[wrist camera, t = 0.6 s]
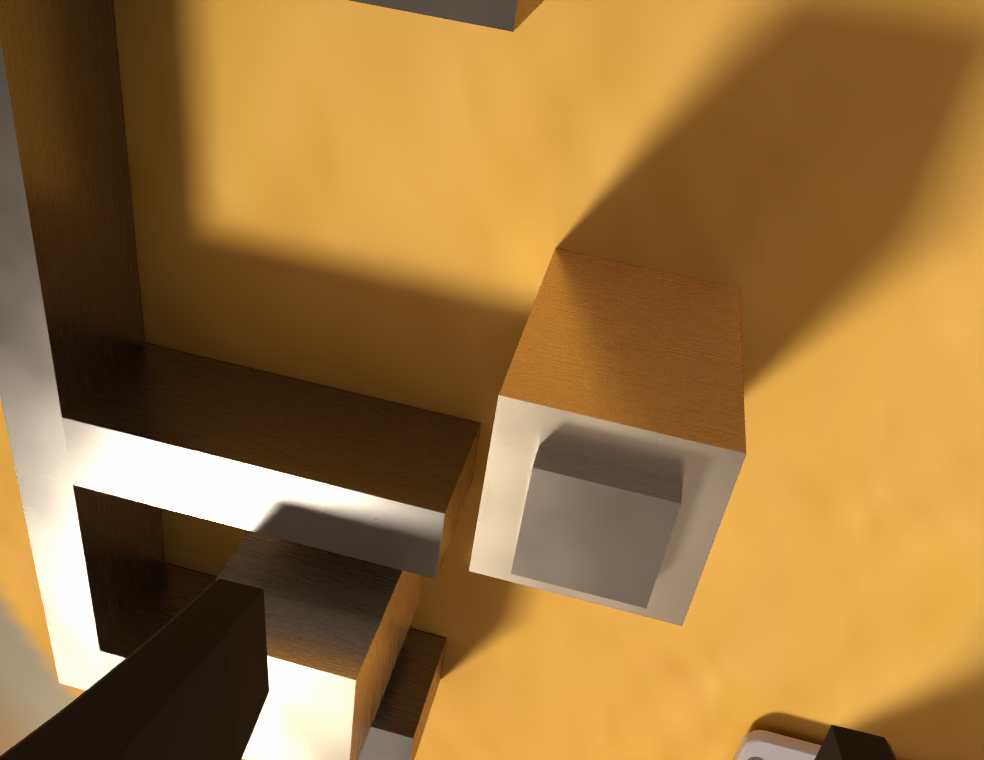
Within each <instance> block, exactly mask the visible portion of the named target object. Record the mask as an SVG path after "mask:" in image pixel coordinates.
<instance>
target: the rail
mask: <svg viewBox="0 0 984 760" xmlns="http://www.w3.org/2000/svg"><path fill="white" fill-rule="evenodd" d="M350 1H355V2H361V3H366V4H371V5H376V6H382V7H387V8H392V9H397V10H403V11H408V12H413V13H418V14H423V15H429V16H434V17H439V18H444V19H450V20H455V21H460V22H465V23H471V24H476V25H481V26H486V27H491V28H497V29H502V30H507V31H512V32H513V31H514V30H515V29H516V28H517V27H518V26H519V25H520V24H521V23H522V22H523V21H524V20H525V19H526V18H527V17H528V16H529V15H530V14H531V13H532V12H533V11H534V10H535V9H536V8H537V7H538V6H539V5H540V4H541V3H542V2H543V1H544V0H350ZM0 398H1V402H2V407H3V412H4V417H5V422H6V427H7V432H8V437H9V441H10V446H11V451H12V456H13V461H14V466H15V471H16V475H17V480H18V485H19V490H20V495H21V500H22V505H23V509H24V514H25V519H26V524H27V529H28V534H29V539H30V543H31V548H32V553H33V558H34V563H35V568H36V573H37V577H38V582H39V587H40V592H41V597H42V602H43V607H44V612H45V616H46V621H47V626H48V631H49V636H50V641H51V646H52V650H53V655H54V660H55V665H56V670H57V675H58V680H59V683H61V684H65V685H68V686H72V687H75V688H79V689H82V690H87V689H89V688H90V687H91V686H92V685H94V684H95V683H96V682H97V681H98V680H100V679H101V678H102V677H103V676H105V675H106V674H107V673H108V672H109V671H111V670H112V669H113V668H114V667H116V666H117V665H118V664H119V663H121V662H122V661H123V660H124V659H125V658H127V657H128V656H129V655H130V654H131V653H132V652H134V651H135V650H136V649H137V648H138V647H139V646H141V645H142V644H143V643H144V642H145V641H147V640H148V639H149V638H150V637H151V636H152V635H154V634H155V633H156V632H157V631H158V630H159V629H160V628H162V627H163V626H164V625H165V624H166V623H167V622H168V621H170V620H171V619H172V618H173V617H174V616H175V615H176V614H178V613H179V612H180V611H181V610H182V609H183V608H184V607H185V606H187V605H188V604H189V603H190V602H191V601H192V600H193V599H194V598H196V597H197V596H198V595H199V594H200V593H201V592H202V591H203V590H205V589H206V588H207V587H208V586H209V585H210V584H211V583H213V582H214V581H215V580H216V578H217V577H214V576H210V575H207V574H203V573H199V572H195V571H192V570H188V569H184V568H180V567H177V566H173V565H169V564H165V558H164V547H163V536H162V525H161V515H160V508H164V509H168V510H172V511H176V512H179V513H183V514H187V515H191V516H195V517H199V518H203V519H206V520H210V521H214V522H218V523H222V524H226V525H230V526H233V527H237V528H241V529H245V530H249V531H253V532H256V533H260V534H264V535H268V536H272V537H276V538H280V539H283V540H287V541H291V542H295V543H299V544H303V545H307V546H310V547H314V548H318V549H322V550H326V551H330V552H334V553H337V554H341V555H345V556H349V557H353V558H357V559H360V560H364V561H368V562H372V563H376V564H380V565H384V566H387V567H391V568H395V569H399V570H403V571H407V572H411V573H414V574H418V575H422V576H426V577H430V578H434V579H436V577H437V574H438V571H439V569H440V566H441V563H442V561H443V558H444V555H445V553H446V550H447V547H448V545H449V542H450V539H451V537H452V534H453V531H454V529H455V526H456V523H457V521H458V518H459V515H460V513H461V510H462V507H463V505H464V502H465V499H466V497H467V494H468V491H469V489H470V486H471V481H472V475H473V469H474V462H475V456H476V450H477V444H478V437H479V431H480V425H481V423H477V422H473V421H468V420H464V419H460V418H456V417H452V416H447V415H443V414H439V413H435V412H431V411H427V410H422V409H418V408H414V407H410V406H406V405H402V404H397V403H393V402H389V401H385V400H381V399H376V398H372V397H368V396H364V395H360V394H356V393H351V392H347V391H343V390H339V389H335V388H331V387H326V386H322V385H318V384H314V383H310V382H305V381H301V380H297V379H293V378H289V377H285V376H280V375H276V374H272V373H268V372H264V371H260V370H255V369H251V368H247V367H243V366H239V365H234V364H230V363H226V362H222V361H218V360H214V359H209V358H205V357H201V356H197V355H193V354H189V353H184V352H180V351H176V350H172V349H168V348H163V347H159V346H155V345H151V344H147V343H144V333H143V322H142V311H141V301H140V290H139V279H138V269H137V258H136V247H135V236H134V226H133V215H132V204H131V194H130V183H129V172H128V161H127V151H126V140H125V129H124V119H123V108H122V97H121V87H120V76H119V65H118V54H117V44H116V33H115V22H114V12H113V1H112V0H0ZM445 645H446V638H443V637H439V636H435V635H432V634H428V633H424V632H420V631H417V630H413V629H409V630H408V632H407V635H406V637H405V640H404V643H403V645H402V648H401V650H400V653H399V656H398V658H397V661H396V663H395V666H394V669H393V671H392V674H391V676H390V679H389V682H388V684H387V687H386V689H385V692H384V695H383V697H382V700H381V702H380V705H379V708H378V710H377V713H376V715H375V718H374V721H373V723H372V726H371V728H370V731H369V734H368V736H367V739H366V741H365V744H364V747H363V749H362V752H361V755H360V757H359V760H414V759H415V756H416V753H417V750H418V747H419V744H420V740H421V737H422V734H423V731H424V728H425V725H426V722H427V719H428V716H429V713H430V710H431V707H432V704H433V700H434V697H435V694H436V691H437V688H438V685H439V682H440V676H441V670H442V664H443V657H444V651H445Z"/></svg>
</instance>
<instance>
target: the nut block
mask: <svg viewBox="0 0 984 760" xmlns="http://www.w3.org/2000/svg"><path fill="white" fill-rule="evenodd" d="M745 456H746V435H745V412H744V390H743V367H742V344H741V321H740V299H739V288H735V287H730V286H726V285H721V284H717V283H712V282H707V281H703V280H698V279H693V278H689V277H684V276H680V275H675V274H670V273H666V272H661V271H656V270H652V269H647V268H643V267H638V266H633V265H629V264H624V263H620V262H615V261H610V260H606V259H601V258H596V257H592V256H587V255H583V254H578V253H573V252H569V251H564V250H559V249H555V250H554V253H553V255H552V258H551V261H550V263H549V266H548V268H547V271H546V273H545V276H544V279H543V281H542V284H541V286H540V289H539V292H538V294H537V297H536V299H535V302H534V305H533V307H532V310H531V312H530V315H529V318H528V320H527V323H526V325H525V328H524V331H523V333H522V336H521V338H520V341H519V343H518V346H517V349H516V351H515V354H514V356H513V359H512V362H511V364H510V367H509V369H508V372H507V375H506V377H505V380H504V382H503V385H502V388H501V390H500V393H499V396H498V401H497V407H496V413H495V419H494V425H493V431H492V437H491V443H490V449H489V455H488V461H487V466H486V472H485V478H484V484H483V490H482V496H481V502H480V508H479V514H478V520H477V526H476V531H475V537H474V543H473V549H472V555H471V561H470V567H469V571H471V572H475V573H479V574H483V575H487V576H490V577H494V578H498V579H502V580H506V581H510V582H514V583H518V584H521V585H525V586H529V587H533V588H537V589H541V590H545V591H549V592H552V593H556V594H560V595H564V596H568V597H572V598H576V599H580V600H583V601H587V602H591V603H595V604H599V605H603V606H607V607H611V608H614V609H618V610H622V611H626V612H630V613H634V614H638V615H642V616H645V617H649V618H653V619H657V620H661V621H665V622H669V623H672V624H676V625H680V626H682V625H683V622H684V620H685V617H686V614H687V612H688V609H689V606H690V604H691V601H692V598H693V595H694V593H695V590H696V587H697V585H698V582H699V579H700V577H701V574H702V571H703V569H704V566H705V563H706V561H707V558H708V555H709V553H710V550H711V547H712V544H713V542H714V539H715V536H716V534H717V531H718V528H719V526H720V523H721V520H722V518H723V515H724V512H725V510H726V507H727V504H728V501H729V499H730V496H731V493H732V491H733V488H734V485H735V483H736V480H737V477H738V475H739V472H740V469H741V467H742V464H743V461H744V459H745Z"/></svg>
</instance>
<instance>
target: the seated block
mask: <svg viewBox="0 0 984 760" xmlns="http://www.w3.org/2000/svg"><path fill="white" fill-rule="evenodd" d="M421 576H422V575H418V574H414V573H411V572H407V571H403V570H399V569H395V568H391V567H387V566H384V565H380V564H376V563H372V562H368V561H364V560H360V559H357V558H353V557H349V556H345V555H341V554H337V553H334V552H330V551H326V550H322V549H318V548H314V547H310V546H307V545H303V544H299V543H295V542H291V541H287V540H283V539H280V538H276V537H272V536H268V535H264V534H260V533H256V532H253V531H249V530H248V532H247V533H246V535H245V536H244V538H243V539H242V541H241V542H240V544H239V545H238V547H237V548H236V550H235V551H234V553H233V554H232V556H231V557H230V559H229V560H228V562H227V563H226V565H225V566H224V568H223V569H222V571H221V572H220V574H219V575H218V577H217V578H216V580H218V579H224V580H228V581H232V582H237V583H241V584H245V585H249V586H253V587H257V588H262V589H264V605H265V623H266V640H267V658H268V675H269V693H268V696H267V698H266V701H265V703H264V706H263V708H262V711H261V713H260V716H259V718H258V721H257V723H256V726H255V728H254V731H253V733H252V735H251V738H250V740H249V742H248V745H247V747H246V749H245V752H244V754H243V757H242V759H246V760H359V757H360V755H361V752H362V749H363V747H364V744H365V741H366V739H367V736H368V734H369V731H370V728H371V726H372V723H373V721H374V718H375V715H376V713H377V710H378V708H379V705H380V702H381V700H382V697H383V695H384V692H385V689H386V687H387V684H388V682H389V679H390V676H391V674H392V671H393V669H394V666H395V663H396V661H397V658H398V656H399V653H400V650H401V648H402V645H403V643H404V640H405V637H406V635H407V632H408V630H409V627H410V624H411V622H412V619H413V616H414V614H415V611H416V609H417V606H418V599H419V591H420V584H421ZM216 580H215V581H216Z"/></svg>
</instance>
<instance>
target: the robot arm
mask: <svg viewBox="0 0 984 760" xmlns="http://www.w3.org/2000/svg"><path fill="white" fill-rule="evenodd" d="M268 693H269V675H268V658H267V640H266V623H265V605H264V589H262V588H257V587H253V586H249V585H245V584H241V583H237V582H232V581H228V580H224V579H218V580H216V581H214V582H213V583H211V584H210V585H209V586H208V587H207V588H206V589H205V590H203V591H202V592H201V593H200V594H199V595H198V596H197V597H196V598H194V599H193V600H192V601H191V602H190V603H189V604H188V605H187V606H185V607H184V608H183V609H182V610H181V611H180V612H179V613H178V614H176V615H175V616H174V617H173V618H172V619H171V620H170V621H168V622H167V623H166V624H165V625H164V626H163V627H162V628H160V629H159V630H158V631H157V632H156V633H155V634H154V635H152V636H151V637H150V638H149V639H148V640H147V641H145V642H144V643H143V644H142V645H141V646H139V647H138V648H137V649H136V650H135V651H134V652H132V653H131V654H130V655H129V656H128V657H127V658H125V659H124V660H123V661H122V662H121V663H119V664H118V665H117V666H116V667H114V668H113V669H112V670H111V671H109V672H108V673H107V674H106V675H105V676H103V677H102V678H101V679H100V680H98V681H97V682H96V683H95V684H94V685H92V686H91V687H90V688H89V689H87V690H86V691H85V692H84V693H83V694H81V695H80V696H79V697H78V698H76V699H75V700H74V701H73V702H71V703H70V704H69V705H68V706H66V707H65V708H64V709H62V710H61V711H60V712H59V713H57V714H56V715H55V716H53V717H52V718H51V719H49V720H48V721H47V722H45V723H44V724H43V725H41V726H40V727H39V728H37V729H36V730H35V731H33V732H32V733H31V734H29V735H28V736H27V737H25V738H24V739H23V740H21V741H20V742H19V743H17V744H16V745H15V746H13V747H12V748H11V749H9V750H8V751H7V752H5V753H4V754H3V755H1V756H0V760H241V759H242V757H243V754H244V752H245V749H246V747H247V745H248V742H249V740H250V738H251V735H252V733H253V731H254V728H255V726H256V723H257V721H258V718H259V716H260V713H261V711H262V708H263V706H264V703H265V701H266V698H267V696H268ZM733 760H896V757H895V755H894V753H893V751H892V749H891V747H890V745H889V744H888V742H887V741H886V739H885V738H884V737H880V736H876V735H872V734H868V733H864V732H859V731H855V730H851V729H847V728H843V727H838V726H834V725H831V727H830V729H829V731H828V733H827V735H826V737H825V739H824V741H823V743H822V746H821V745H818V744H814V743H810V742H807V741H803V740H799V739H795V738H792V737H788V736H784V735H780V734H777V733H773V732H769V731H765V730H753V731H751V732H749V733H747V734H746V735H745V736H744V738H743V740H742V742H741V744H740V746H739V748H738V750H737V752H736V754H735V757H734V759H733Z"/></svg>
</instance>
